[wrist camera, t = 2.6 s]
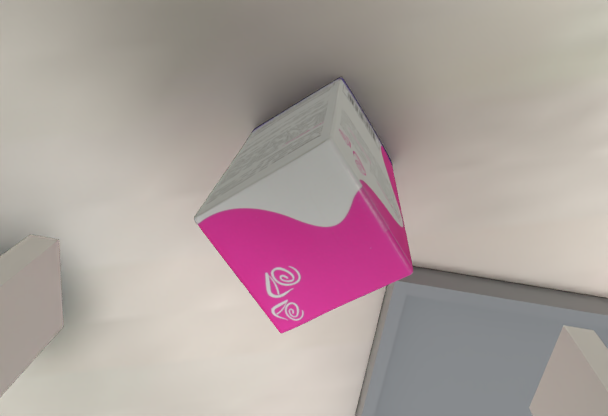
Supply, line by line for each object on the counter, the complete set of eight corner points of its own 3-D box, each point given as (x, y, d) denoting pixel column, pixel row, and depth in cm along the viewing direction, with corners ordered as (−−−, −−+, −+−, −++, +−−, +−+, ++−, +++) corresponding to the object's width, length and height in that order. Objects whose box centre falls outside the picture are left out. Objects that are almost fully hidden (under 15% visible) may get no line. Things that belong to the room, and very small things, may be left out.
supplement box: (248, 131, 27) (185, 216, 17) (342, 73, 26) (338, 126, 15) (304, 215, 29) (279, 341, 18) (395, 166, 27) (425, 272, 17)
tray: (392, 262, 30) (395, 280, 28) (654, 306, 29) (675, 326, 28) (346, 450, 36) (346, 475, 34) (563, 488, 36) (574, 514, 34)
